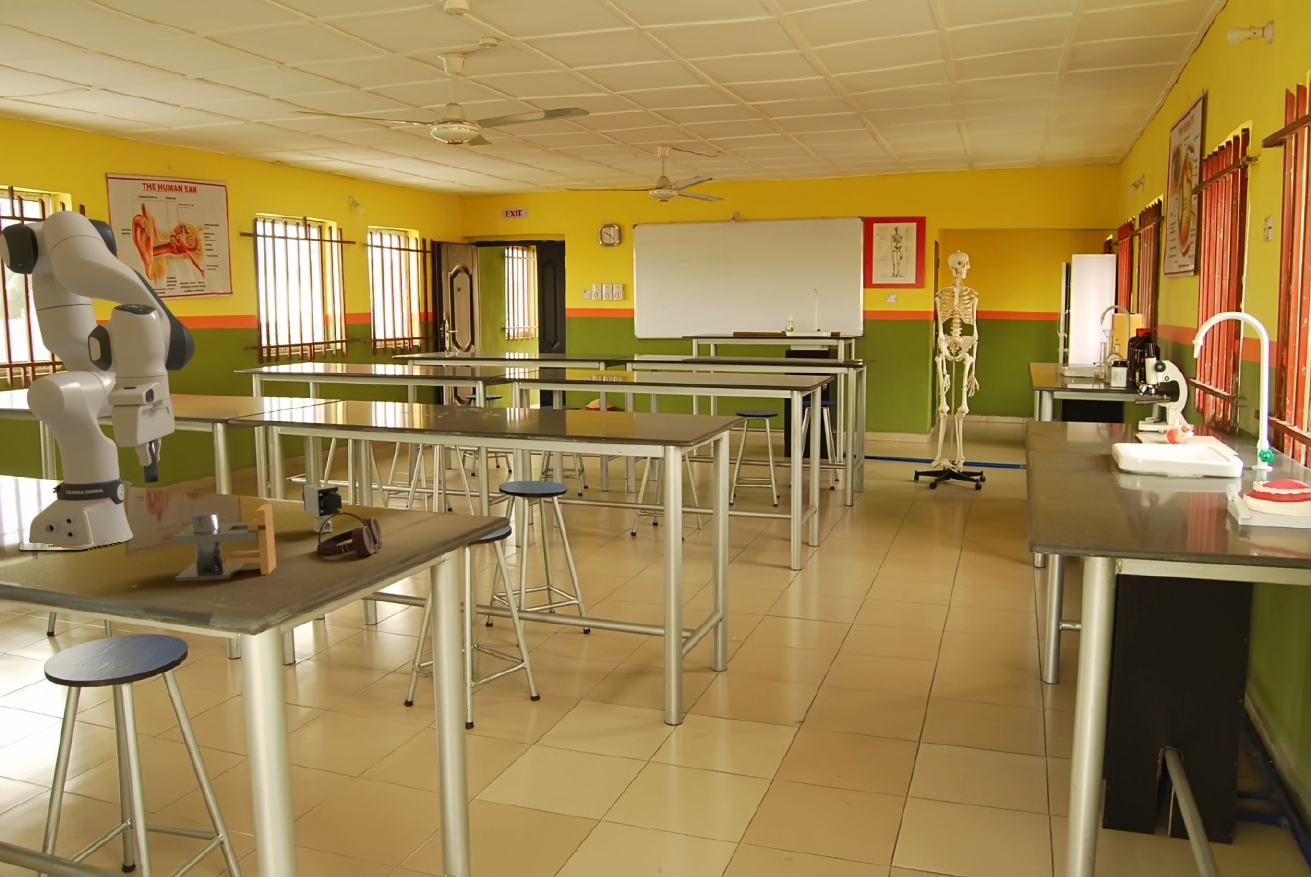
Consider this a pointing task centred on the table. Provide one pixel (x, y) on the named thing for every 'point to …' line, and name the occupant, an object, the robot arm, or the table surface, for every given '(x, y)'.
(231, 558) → the bracket
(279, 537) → the table surface
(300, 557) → the table surface
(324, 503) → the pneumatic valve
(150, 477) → the pin
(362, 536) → the goggles
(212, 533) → the double plate spool
